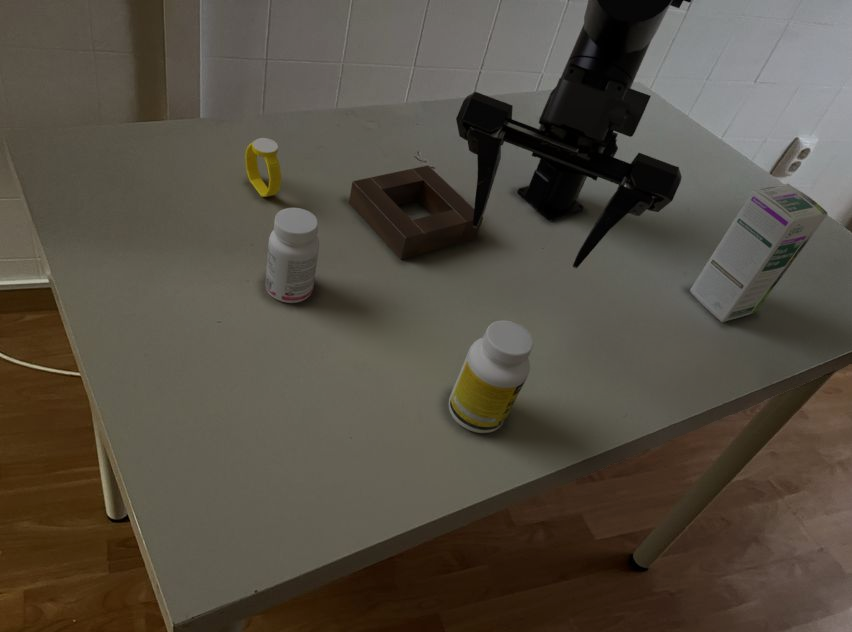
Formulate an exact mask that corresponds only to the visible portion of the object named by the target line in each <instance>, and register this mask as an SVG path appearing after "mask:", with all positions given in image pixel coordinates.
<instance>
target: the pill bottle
mask: <svg viewBox="0 0 852 632" xmlns="http://www.w3.org/2000/svg"><path fill="white" fill-rule="evenodd" d="M318 230H319V220H318V218H317V217H316V215H315V214H314V213H313V212H311V211H309V210H307V209H304V208H300V207H286V208H283V209H281V210H279V211H278V212H277V213H276V214H275V217H274V223H273V230H271V233H270V235H269V238H268V244H267V245H268V247H267V259H266V270H265V271H266V272H265V289H266V292H267V293H268V294H269V295H270V296H271V297H272V298H273V299H275V300H277V301H279V302H283V303H287V304H297V303H301V302H303V301H305V300H307V299H308V298H309V297H310V296H311V295H312V293H313V290H314V285H315V279H316V272H317V265H318V264H317V263H318V256H319V251H320V239H319V237H318Z"/></svg>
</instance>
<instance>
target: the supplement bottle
mask: <svg viewBox="0 0 852 632" xmlns="http://www.w3.org/2000/svg"><path fill="white" fill-rule="evenodd" d="M533 347H534V339H533V337H532V335H531V333H530V332H529V331H528V330H527V329H526V328H525V327H524V326H523V325H520V324H519V323H516V322H514V321H511V320H504V319H503V320H496V321H494V322H491V323H490V324H489V325H488V327H487V328H486V330H485V333H484V335H483V337H479V338H478V339H477V340H475V341H474V342H473V343H472V344H471V346H470V347H469V350H468V352H467V354H466V356H465V359H464V362H463V364H462V366H461V369H460V371H459V374H458V376H457V378H456V381H455V384H454V385H453V388H452V390H451V393H450V396H449V399H448V410H449V412H450V415H451V417H452V418H453V420H454V421H455V422H456V423H457V424H458V425H460V426H461V427H463V428H464V429H465V430H468V431H470V432H473V433H478V434H488V433H492V432H495V431H497V430H498V429H500V428H501V427H502V425H503V424H504V423H505V421H506V419H507V418H508V416H509V413H510V412H511V410H512V408H513V406H514V405H515V402H516V400H517V398H518V396H519V394H520V392H521V390H522V388H523V386H524V385H525V383H526V381H527V380H528V377H529V375H530V370H531V362H530V360H529V356H530V354H531V352H532V350H533Z"/></svg>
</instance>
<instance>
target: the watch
mask: <svg viewBox="0 0 852 632" xmlns="http://www.w3.org/2000/svg"><path fill="white" fill-rule="evenodd" d="M278 152H279V146H278V143H277V142H276V141H274V140H273V139H270V138H268V137H267V138H266V137H259V138H256V139H254V140H253V141H252V142H250V143H249V144H248V146H247V147H246V150H245V156H244V162H245V170H246V174H247V177H248V181H249V183H250V184H251V185H252V187H254V189H255V190H256V192H257V193H258V195H260V197H261V198H267V197H272V196H276V195H277V194H278V192H279V191H280V189H281V184H282V172H281V165H280V162H279V159H278V156H277V154H278ZM258 157H261V158H263V159H264V161H265V164H266V167H267V168H266V169H267V174H268V186H267V184H266V183H265V182H264V180H263V178H262V177H261V173H260V170H259V166H258V165H259V164H258Z"/></svg>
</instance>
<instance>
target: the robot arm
mask: <svg viewBox="0 0 852 632" xmlns="http://www.w3.org/2000/svg"><path fill="white" fill-rule="evenodd" d="M684 2H687V3H691V2H692V0H588V1H587V4H586V9H585V13H584V17H583V24H582V27H581V29H580V32H579V34H578V36H577V39H576V41H575V44H574V46H573V47H572V51H571V52H570V55H569V57H568V59H567V62H566V64H565V66H564V69H563V71H562V73H561V76H560V77H559V79H558V81H557V83H556V85H555V87H554V88H553V90H552V91H551V92H550V93H549V96H548V98H547V100H546V102H545V104H544V107H543V109H542V112H541V114H540V117H539V120H538V124H539V127H538V128H537V127H535V126H531V125H528V124H527V123H523V122H520V121H517V120H516V119H513V108H514V107H513V104H510V103H507V102H505V101H502V100H500V99H496V98H494V97H491V96H488V95H486V94H483V93H480V92H477V91H474V92H472V93H471V94H468V95H467V96H466V97H465V98H464V100H463V101H462V103H461V105H460V108H459V111H458V113H457V115H456V118H455V120H456V125H457V131H458V136H459V137H460V138H462V139H463V140H465V141H466V142H467V148H468V151H469V152H471V153H472V154H474V155H476V157H477V177H476V178H477V180H476V188H475V198H474V206H473V208H474V216H473V227H474V228H477V227H478V225H479V223H480V221H481V219H482V217H483V218H484V215H485V212H486V208H487V204H488V201H489V198H490V195H491V191H492V188H493V185H494V182H495V178H496V175H497V171H498V168H499V165H500V162H501V159H502V146H503V145H504V144H505V143H508V144H511V145H512V146H516V147H517V148H521V149H523V150H526V151H529V152H531V157H533V158H538V159H539V162H538V164H537V166H536V169H535V170H534V171H533V175H532V176H531V179H530V182H529V185H525V186H522V187H519V188H518V189H517V192H516V193H517V194H518V195H519V196H520V197H521V198H522V199H524V201H525V202H527V203H528V204H529V205H530V206H531V207H532V208H534V209H535V210H536V211H537V212H538V213H539V214H540V215H541V216H543V217H544V218H545V219H546V220H548V221H554V220H557V219H560V218H563V217H568V216H571V215H574V214H577V213H581V212H583V211H584V209H585V206H584V205H583V204H582V203H581V202H579V201H578V200H577V199H578V198H579V195H580V194H581V191H582V188H583V186H584V184H585V182H586V180H587V178H591V179H592V180H593V181H598V178H600V179H602V180H605V181H608V182H610V183H613V184H616V185H618V186H617V189H616V191H615V192H614V193H613V194H612V196H611V197H610V199H609V200H608V201H607V203H606V205H605V207H604V208H603V209H602V212H601V213H600V215H599V216H598V218H597V220H596V221H595V224H594V225H593V227H592V229H590V232H589V234H588V235H587V237H586V238H585V240H584V242H583V243H582V245H581V247H580V248H579V250H578V251H577V255H576V256H575V259H574V262H573V264H572V268H574V269H578V268H579V267H580V266H581V264H582V263H583V262H584V261H585V260H586V258H587V257H588V256H589V255H590V253H591V252H592V251H593V250H594V249H595V248H596V246H598V244H599V243H600V242H601V241H602V240H603V238H604V237H605V236H606V235H607V234H608V232H609V231H610V230H611V229H612V228H614V227H615V226H616V225H617V224H618V223H619V222H620V221H621V220H622V219H623V218H624V217H626V216H627V215H628V214H629V215H633V216H636V217H640V216H641V215H643V214H644V213H645V212H646V211H649V212H654V213H659V212H661V211H662V210H663V209H664V208H665V207H667V206H668V205H669V204H670V203H672V202H673V200H674V198H675V196H676V193H677V192H678V189H679V186H680V184H681V183H682V178H683V177H682V173H681V170H680V167H679V166H676V165H673V164H671V163H668V162H666V161H662V160H660V159H657V158H655V157H652V156H649V155H647V154H644V153H641V152H638V153H637V155H635V157H634V158H633V160H631V162H628V161H624V160H622V159H619V158H617V157H615V155H616V153H617V152H618V150H619V147H618V144H617V141H618V139H617V138H618V135H619V134H621V135H624V136H627V137H630V138H632V137H633V136H634V135H635V133H636V130H637V128H638V126H639V125H640V122H641V120H642V117H643V115H644V113H645V111H646V109H647V106H648V104H649V102H650V100H651V96H652V95H649V94H647V93H644V92H641V91H639V90H636V89H633V88H632V86H633V83H634V81H635V79H636V77H637V74H638V72H639V70H640V67H641V65H642V63H643V61H644V59H645V57H646V54H647V52H648V50H649V47H650V45H651V42H652V40H653V39H654V37H655V35H656V34H657V32H658V30H659V28H660V26H661V25H662V22H663V20H664V18H665V16H666V14H667V12H668V10H669V8H670V7H673V8H677V9H680V8H681V6H682V4H683V3H684Z"/></svg>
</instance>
